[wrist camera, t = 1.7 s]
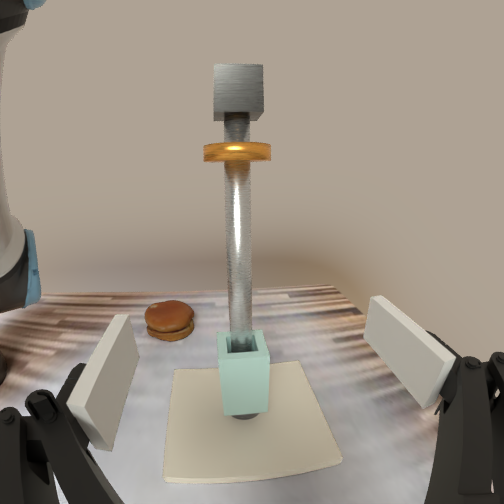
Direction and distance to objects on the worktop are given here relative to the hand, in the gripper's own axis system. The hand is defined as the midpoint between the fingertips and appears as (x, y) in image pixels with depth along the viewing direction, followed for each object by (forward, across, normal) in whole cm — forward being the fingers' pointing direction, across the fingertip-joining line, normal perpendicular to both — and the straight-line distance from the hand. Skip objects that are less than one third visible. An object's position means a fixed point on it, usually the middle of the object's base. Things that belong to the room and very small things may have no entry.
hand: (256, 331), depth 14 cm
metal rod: (+10, 0, -18) cm, 20 cm away
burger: (+33, -12, -20) cm, 40 cm away
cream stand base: (+10, 0, -20) cm, 22 cm away
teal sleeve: (+10, 0, -16) cm, 18 cm away
